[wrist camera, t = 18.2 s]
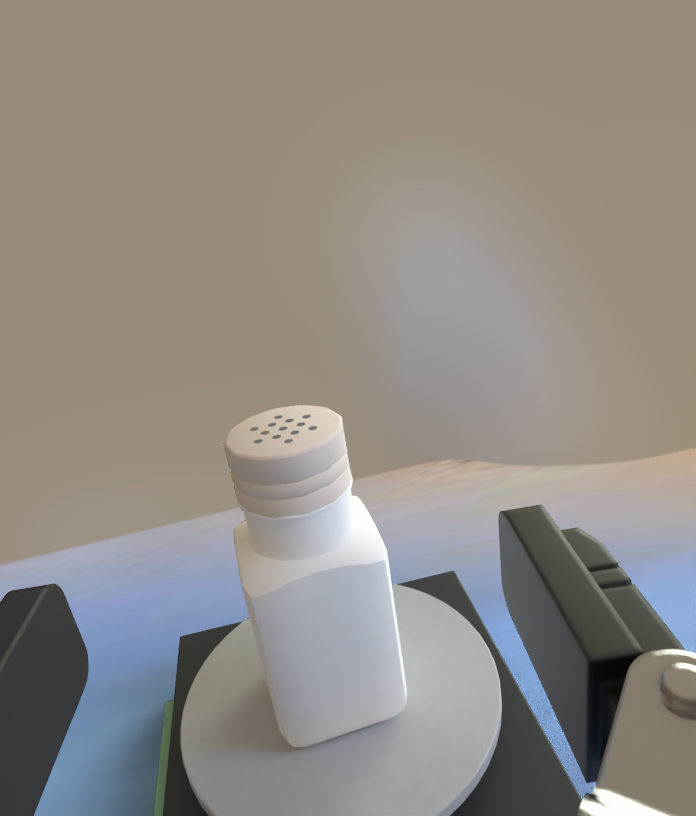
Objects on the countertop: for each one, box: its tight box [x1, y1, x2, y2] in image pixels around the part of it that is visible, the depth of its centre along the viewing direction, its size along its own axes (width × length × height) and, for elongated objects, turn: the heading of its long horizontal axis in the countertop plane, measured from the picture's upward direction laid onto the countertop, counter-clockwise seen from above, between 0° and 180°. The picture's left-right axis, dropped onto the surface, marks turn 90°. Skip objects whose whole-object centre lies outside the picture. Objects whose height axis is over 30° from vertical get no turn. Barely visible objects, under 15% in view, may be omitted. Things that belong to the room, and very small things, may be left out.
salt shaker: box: [224, 405, 407, 747], centre depth 18 cm, size 4×4×10 cm
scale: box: [153, 571, 582, 816], centre depth 21 cm, size 12×12×4 cm
